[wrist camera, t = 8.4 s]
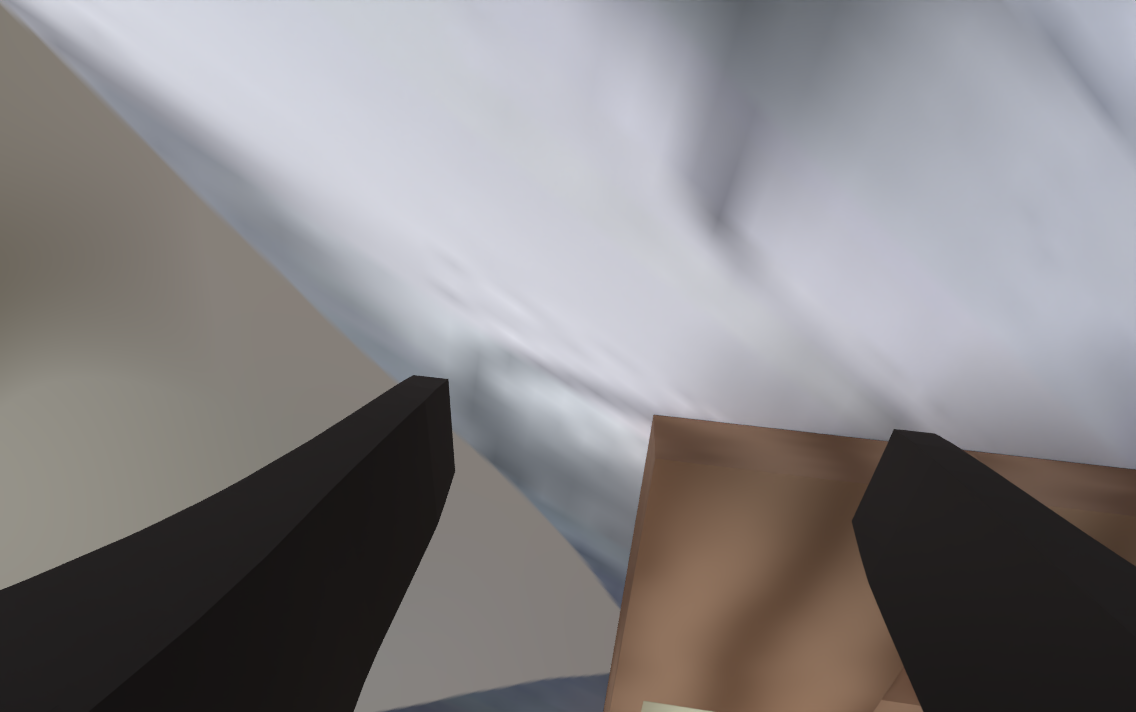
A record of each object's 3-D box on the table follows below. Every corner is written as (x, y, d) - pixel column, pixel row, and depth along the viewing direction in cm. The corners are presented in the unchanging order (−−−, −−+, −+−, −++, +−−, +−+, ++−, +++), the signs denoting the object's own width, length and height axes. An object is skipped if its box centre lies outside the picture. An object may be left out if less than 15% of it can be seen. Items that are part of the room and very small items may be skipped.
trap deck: (1257, 483, 18) (1341, 541, 16) (946, 804, 31) (968, 860, 29) (653, 415, 20) (655, 458, 18) (597, 747, 33) (594, 796, 31)
